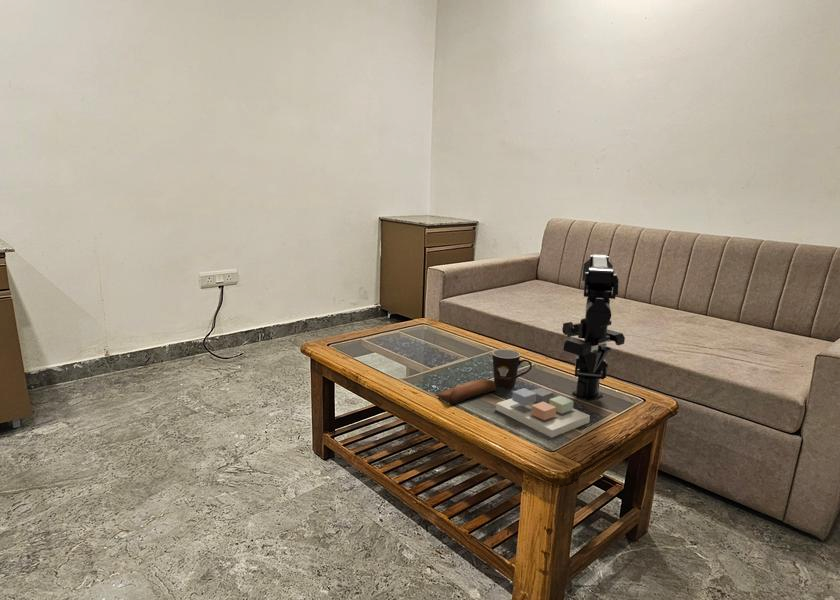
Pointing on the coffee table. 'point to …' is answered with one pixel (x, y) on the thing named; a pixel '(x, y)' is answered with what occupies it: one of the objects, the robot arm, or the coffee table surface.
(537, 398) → the charcoal key
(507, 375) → the coffee mug
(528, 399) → the slate key
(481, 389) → the sunglasses case
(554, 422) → the keypad board
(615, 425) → the coffee table surface
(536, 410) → the terracotta key
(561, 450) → the coffee table surface
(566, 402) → the sage key
